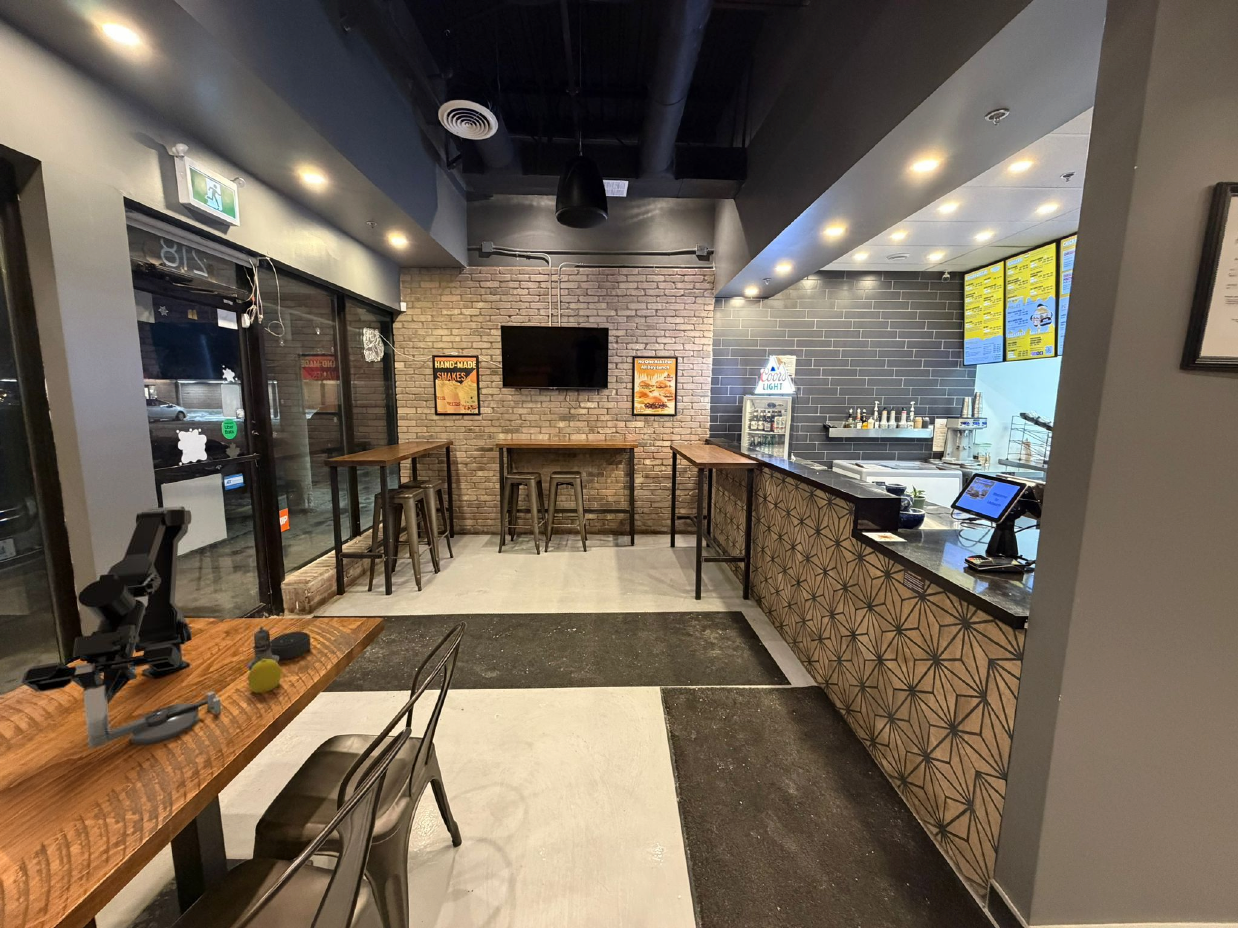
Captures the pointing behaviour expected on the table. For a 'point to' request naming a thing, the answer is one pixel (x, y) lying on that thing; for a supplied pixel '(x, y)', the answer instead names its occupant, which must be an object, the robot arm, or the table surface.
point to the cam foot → (142, 731)
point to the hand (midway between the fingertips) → (93, 716)
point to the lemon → (264, 676)
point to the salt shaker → (262, 647)
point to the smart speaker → (290, 645)
